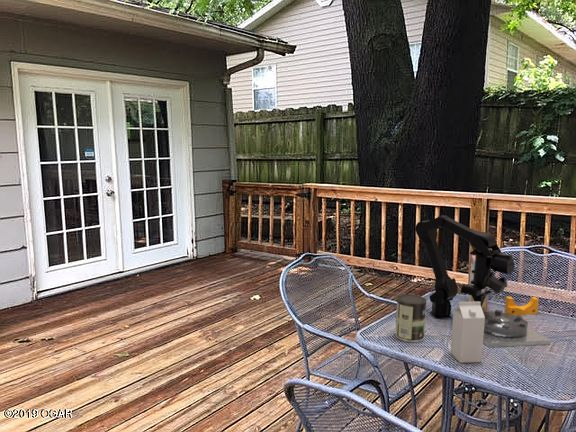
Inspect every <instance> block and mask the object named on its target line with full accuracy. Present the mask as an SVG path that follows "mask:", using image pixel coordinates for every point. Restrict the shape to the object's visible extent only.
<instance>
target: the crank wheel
mask: <svg viewBox="0 0 576 432" xmlns="http://www.w3.org/2000/svg"><path fill="white" fill-rule="evenodd" d="M485 301H486V299H485V300H484V302H483V304H482V307H481V308H482V310H483V313H484V316H485V323H484V332H487V333H489V334H493V335H497V336H502V337H521V336H524V335H526V333H527V326H529V325H528V324H529V323H528V321H527V320H526V319H524V318H523V315H512V314H508V313H506V312H503V311H502V310H501V309H496V310H494V311H487V312H485Z"/></svg>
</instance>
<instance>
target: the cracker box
mask: <svg viewBox="0 0 576 432" xmlns="http://www.w3.org/2000/svg"><path fill="white" fill-rule="evenodd" d="M475 256H476V255H471V259H470V260H471V261H470V273H469V283H468V284H471V281H473V277H474V273H472V270H474V267H475ZM471 285H474V284H471ZM488 289H489V290H490V288H489V287H488ZM488 298H489V294H488V295H487V296H486V298H485V299H486V301H485V312H488V303H489V302H488V301H489V299H488ZM467 302H474V299H473V297H472V295H468V294H467Z"/></svg>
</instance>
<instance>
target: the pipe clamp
mask: <svg viewBox="0 0 576 432" xmlns="http://www.w3.org/2000/svg"><path fill="white" fill-rule="evenodd" d="M514 299H515V298H514V297H512V296H506V297H505V304H504V305H505V307H504V313H508V314H512V315H515V316H516V315H520V316H526V315H528V314H529V315H538V312H539V311H538V310H539V301H540V299H539V298H537V297H536V296H534V297H533V296H531V297H530V300H529V301H528V303H526V304H524V305H522V306H521V305H516V304H515V300H514Z"/></svg>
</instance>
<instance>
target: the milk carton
mask: <svg viewBox="0 0 576 432" xmlns="http://www.w3.org/2000/svg"><path fill="white" fill-rule="evenodd" d="M452 318H453V319H452V328H451V329H452V331H451V343H450V353H451V355H452V356H454V358H455V359H456V360H457V361H458V362H459V363H482V358H483V357H482V355H483V347H484V344H483V335H484V323H485V316H484V313H483V310H482V308H481V302H468V301H458V306H456V307H455V308H454V309H453V314H452Z"/></svg>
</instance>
